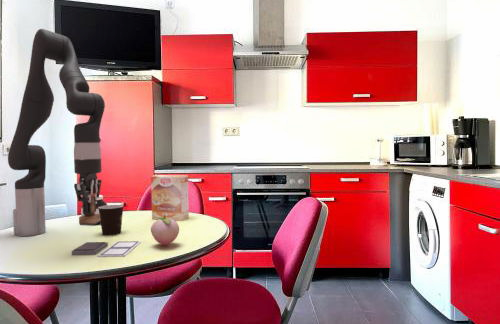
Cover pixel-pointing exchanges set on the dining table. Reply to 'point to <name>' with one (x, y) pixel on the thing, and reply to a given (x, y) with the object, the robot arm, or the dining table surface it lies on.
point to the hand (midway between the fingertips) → (89, 213)
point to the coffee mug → (111, 219)
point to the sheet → (119, 249)
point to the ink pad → (90, 248)
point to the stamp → (91, 218)
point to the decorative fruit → (165, 230)
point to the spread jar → (99, 203)
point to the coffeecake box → (170, 197)
